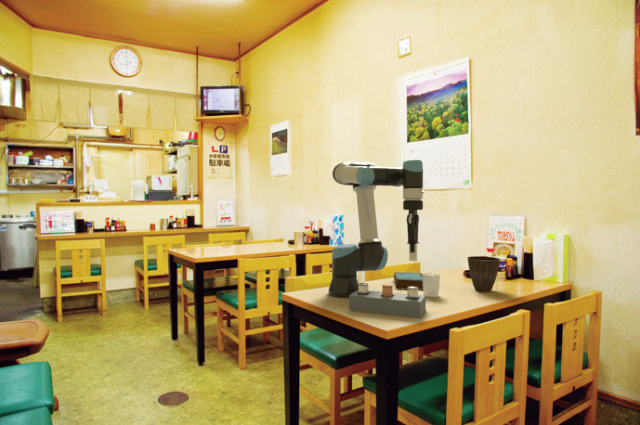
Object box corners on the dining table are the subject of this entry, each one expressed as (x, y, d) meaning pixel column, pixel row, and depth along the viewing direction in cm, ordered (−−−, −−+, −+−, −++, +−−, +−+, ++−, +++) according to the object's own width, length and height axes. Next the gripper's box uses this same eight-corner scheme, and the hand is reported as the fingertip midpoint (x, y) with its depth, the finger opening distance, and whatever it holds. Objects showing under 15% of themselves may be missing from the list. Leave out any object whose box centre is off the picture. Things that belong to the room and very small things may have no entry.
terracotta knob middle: (381, 299, 159) (381, 286, 159) (383, 297, 163) (383, 284, 163) (391, 300, 157) (391, 286, 157) (393, 298, 161) (393, 285, 161)
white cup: (440, 298, 182) (440, 276, 182) (422, 297, 183) (422, 275, 183) (439, 294, 189) (439, 273, 189) (421, 293, 191) (421, 272, 191)
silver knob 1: (357, 297, 163) (357, 284, 163) (360, 295, 167) (360, 282, 167) (366, 298, 161) (366, 284, 161) (369, 296, 165) (369, 283, 165)
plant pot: (504, 290, 198) (504, 257, 198) (493, 295, 187) (493, 261, 187) (474, 286, 208) (474, 255, 208) (462, 290, 197) (462, 258, 197)
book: (432, 290, 200) (432, 280, 200) (396, 289, 202) (396, 279, 202) (425, 281, 223) (425, 272, 223) (393, 281, 225) (393, 272, 225)
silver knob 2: (406, 302, 155) (406, 288, 155) (408, 300, 159) (408, 286, 158) (416, 303, 153) (417, 288, 153) (418, 301, 157) (418, 287, 157)
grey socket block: (349, 310, 160) (349, 295, 160) (358, 303, 171) (358, 289, 171) (420, 318, 149) (420, 302, 149) (425, 310, 160) (425, 295, 160)
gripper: (419, 199, 148) (420, 263, 148) (425, 200, 160) (425, 259, 160) (399, 199, 151) (399, 262, 151) (406, 200, 163) (406, 258, 163)
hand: (413, 260), depth 155 cm, fingers closed
